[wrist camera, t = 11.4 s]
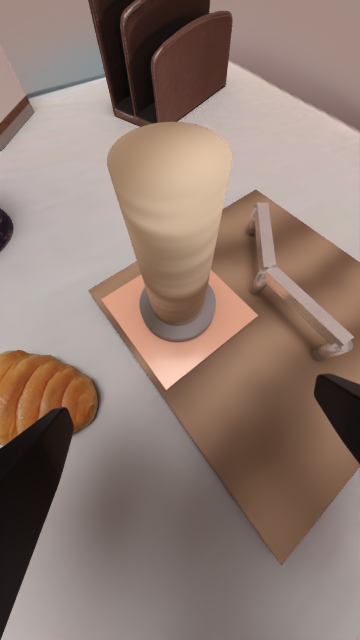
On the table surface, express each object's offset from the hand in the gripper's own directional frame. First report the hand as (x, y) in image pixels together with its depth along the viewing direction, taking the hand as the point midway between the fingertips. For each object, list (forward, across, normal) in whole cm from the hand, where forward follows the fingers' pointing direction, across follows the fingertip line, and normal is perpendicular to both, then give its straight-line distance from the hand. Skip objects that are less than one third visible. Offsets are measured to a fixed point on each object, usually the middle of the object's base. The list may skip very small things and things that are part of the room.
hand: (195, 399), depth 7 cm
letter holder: (+42, -4, -28) cm, 51 cm away
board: (+12, -8, +2) cm, 14 cm away
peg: (+12, 0, 0) cm, 12 cm away
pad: (+12, 0, +1) cm, 12 cm away
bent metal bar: (+13, -10, 0) cm, 16 cm away
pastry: (+9, +12, +6) cm, 16 cm away
